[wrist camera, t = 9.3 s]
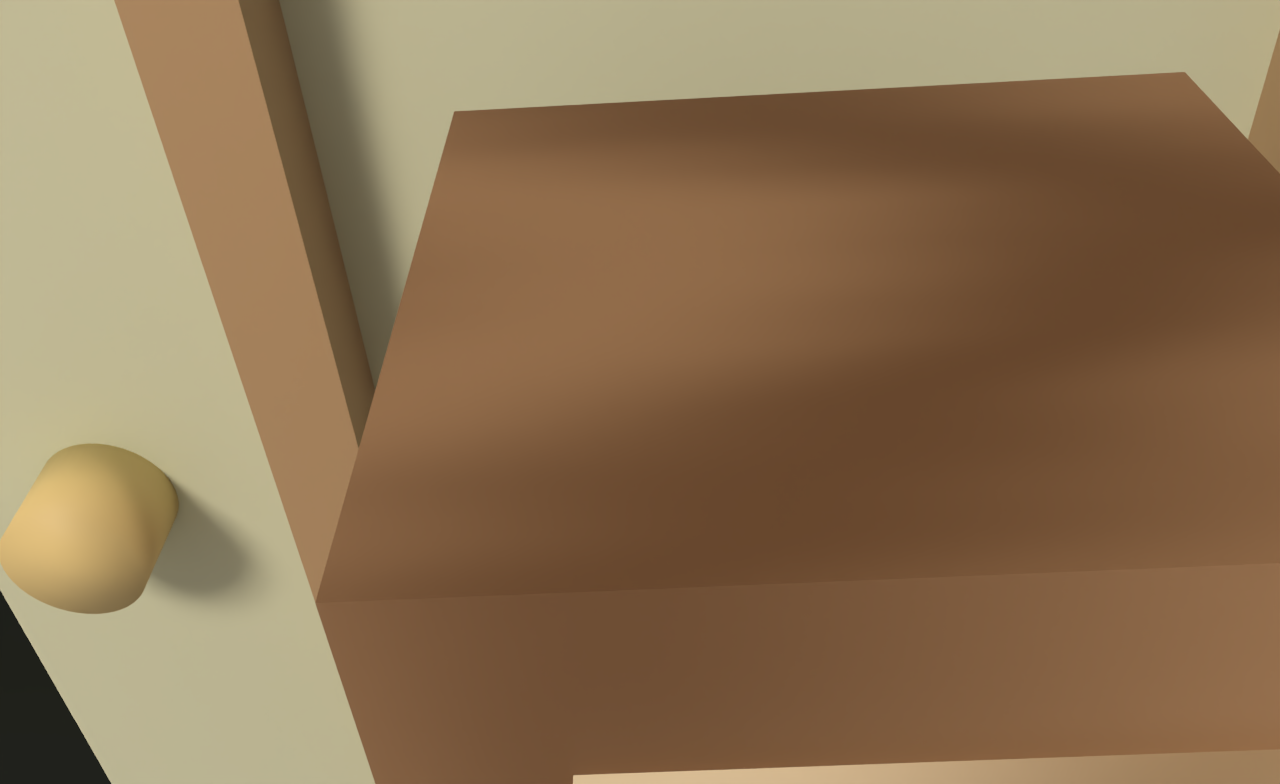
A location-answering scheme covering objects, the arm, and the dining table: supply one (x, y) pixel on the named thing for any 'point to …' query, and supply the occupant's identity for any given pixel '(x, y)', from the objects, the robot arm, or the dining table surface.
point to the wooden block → (828, 447)
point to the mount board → (341, 289)
